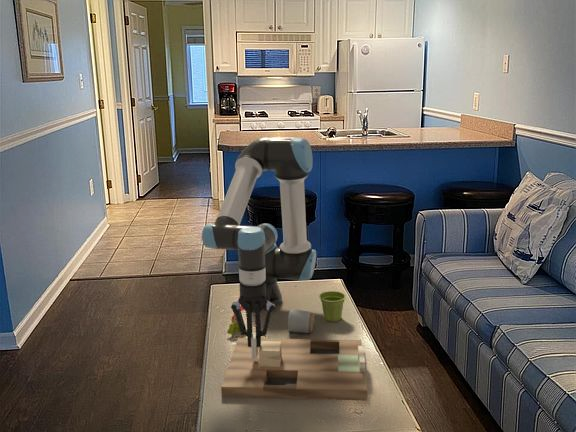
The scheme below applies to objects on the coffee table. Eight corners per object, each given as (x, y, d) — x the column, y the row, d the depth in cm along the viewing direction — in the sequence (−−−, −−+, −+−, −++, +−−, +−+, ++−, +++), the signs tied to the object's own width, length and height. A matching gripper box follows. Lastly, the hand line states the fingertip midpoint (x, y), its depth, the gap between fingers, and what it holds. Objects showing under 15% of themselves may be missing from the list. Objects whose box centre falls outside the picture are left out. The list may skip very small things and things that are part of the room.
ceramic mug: (311, 337, 186) (311, 315, 184) (287, 335, 187) (287, 314, 185) (316, 324, 196) (316, 303, 194) (293, 322, 197) (293, 302, 196)
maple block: (261, 356, 168) (261, 341, 166) (281, 356, 167) (281, 341, 166) (259, 366, 162) (258, 350, 160) (279, 366, 161) (279, 351, 160)
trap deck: (238, 346, 180) (237, 329, 179) (361, 348, 177) (361, 331, 176) (221, 396, 152) (220, 376, 151) (366, 400, 149) (367, 380, 148)
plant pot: (326, 326, 194) (326, 302, 192) (315, 315, 202) (314, 293, 200) (350, 321, 197) (350, 298, 195) (337, 311, 206) (337, 289, 204)
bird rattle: (226, 335, 193) (227, 336, 184) (225, 302, 195) (225, 302, 186) (244, 333, 194) (246, 334, 185) (243, 301, 195) (244, 301, 187)
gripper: (227, 285, 156) (230, 362, 161) (273, 286, 154) (275, 363, 160) (232, 276, 163) (235, 349, 169) (276, 277, 162) (277, 350, 167)
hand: (254, 356), depth 164 cm, fingers closed
